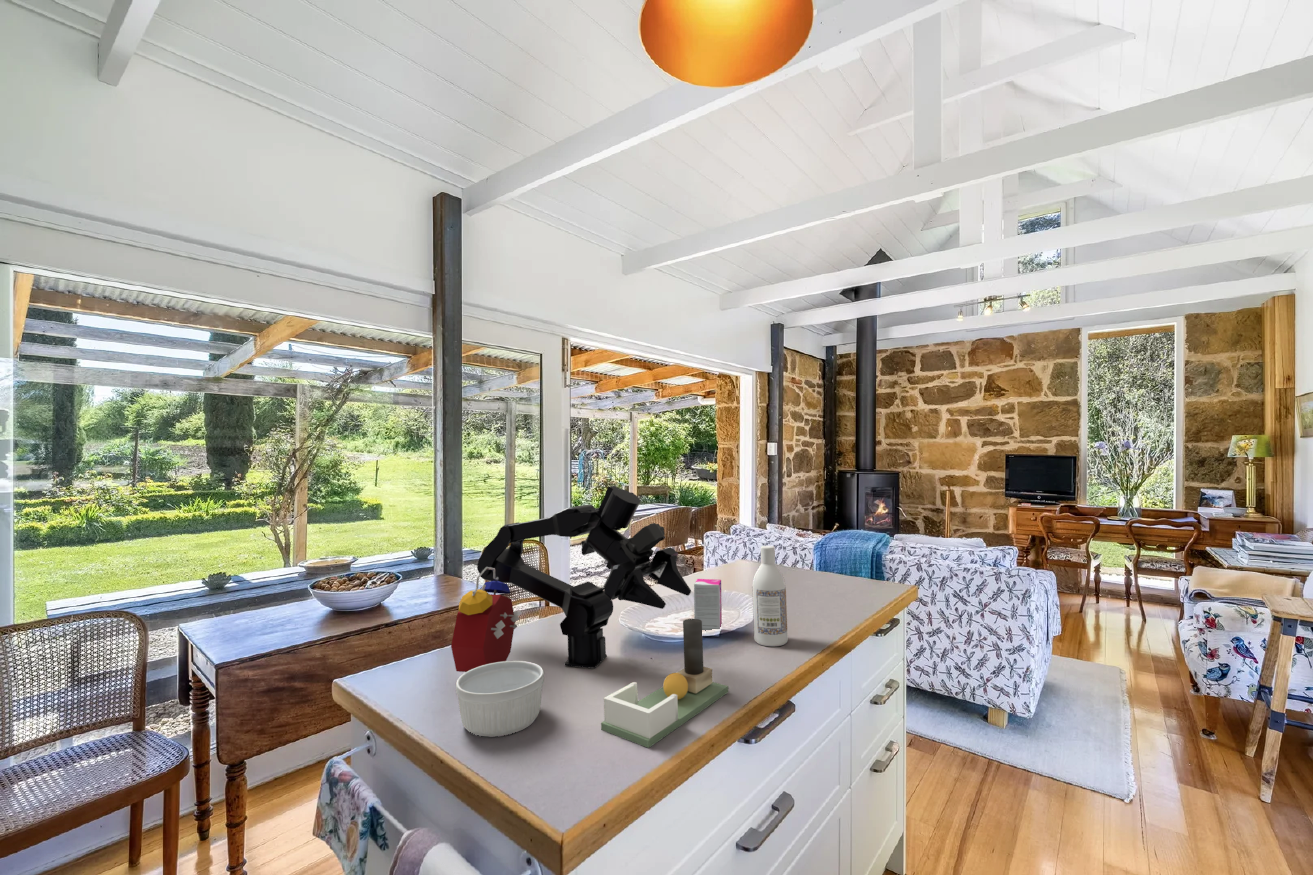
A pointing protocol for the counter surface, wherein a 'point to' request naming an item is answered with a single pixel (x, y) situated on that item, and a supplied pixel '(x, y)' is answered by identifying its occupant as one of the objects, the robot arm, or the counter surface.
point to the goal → (639, 712)
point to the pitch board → (686, 711)
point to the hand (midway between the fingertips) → (677, 599)
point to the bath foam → (769, 601)
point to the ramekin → (500, 697)
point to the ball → (675, 685)
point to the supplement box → (708, 603)
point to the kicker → (694, 657)
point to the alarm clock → (484, 626)
